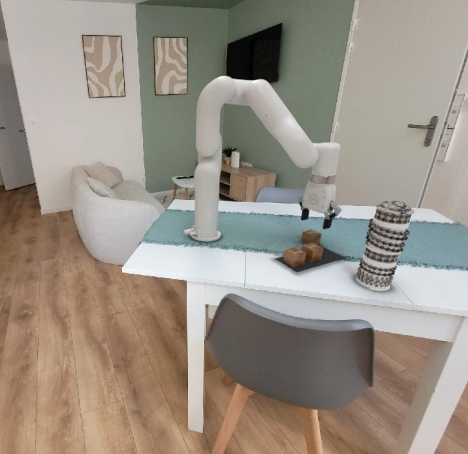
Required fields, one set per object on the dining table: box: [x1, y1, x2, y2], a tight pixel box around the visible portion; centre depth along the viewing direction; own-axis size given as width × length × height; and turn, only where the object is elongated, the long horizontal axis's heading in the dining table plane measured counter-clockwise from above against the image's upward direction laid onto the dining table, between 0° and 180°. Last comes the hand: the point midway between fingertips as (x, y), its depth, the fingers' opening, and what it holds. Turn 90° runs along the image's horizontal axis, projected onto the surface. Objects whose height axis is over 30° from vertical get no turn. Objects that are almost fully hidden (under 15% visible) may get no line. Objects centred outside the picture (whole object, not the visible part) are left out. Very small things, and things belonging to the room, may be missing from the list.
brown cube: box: [300, 243, 323, 263], centre depth 100 cm, size 5×5×5 cm
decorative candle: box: [355, 200, 415, 292], centre depth 82 cm, size 9×9×25 cm
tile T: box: [300, 229, 322, 245], centre depth 111 cm, size 5×5×5 cm
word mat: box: [274, 245, 346, 273], centre depth 101 cm, size 22×10×1 cm, turn 111°
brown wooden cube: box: [283, 246, 306, 268], centre depth 98 cm, size 5×5×5 cm
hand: (314, 223), depth 109 cm, fingers open, 9 cm apart
